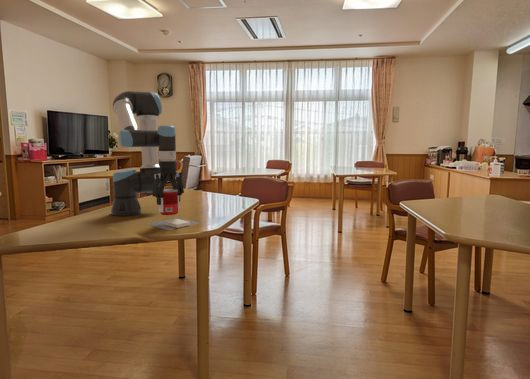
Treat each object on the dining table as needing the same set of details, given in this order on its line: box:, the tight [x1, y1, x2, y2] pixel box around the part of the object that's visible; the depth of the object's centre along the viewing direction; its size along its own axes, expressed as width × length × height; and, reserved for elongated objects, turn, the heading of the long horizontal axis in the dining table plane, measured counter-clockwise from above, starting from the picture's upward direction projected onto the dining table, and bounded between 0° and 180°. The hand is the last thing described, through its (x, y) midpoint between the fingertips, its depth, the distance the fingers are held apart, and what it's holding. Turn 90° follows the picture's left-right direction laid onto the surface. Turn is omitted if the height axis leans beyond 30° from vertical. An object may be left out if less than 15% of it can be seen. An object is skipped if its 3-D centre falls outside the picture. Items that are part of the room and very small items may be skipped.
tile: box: [165, 219, 190, 229], centre depth 165 cm, size 2×7×9 cm
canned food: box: [159, 188, 179, 216], centre depth 167 cm, size 8×8×11 cm
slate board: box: [146, 217, 201, 231], centre depth 168 cm, size 18×18×1 cm
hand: (169, 210), depth 168 cm, fingers closed on canned food, 8 cm apart
